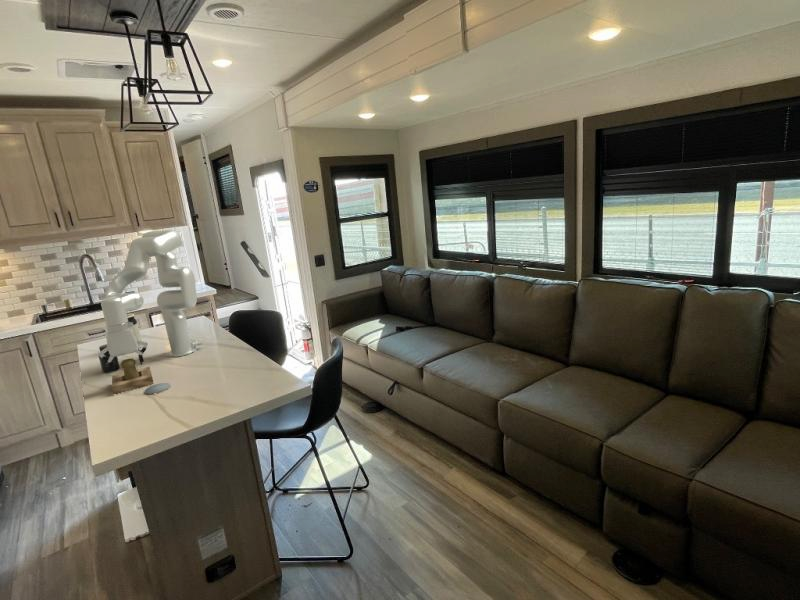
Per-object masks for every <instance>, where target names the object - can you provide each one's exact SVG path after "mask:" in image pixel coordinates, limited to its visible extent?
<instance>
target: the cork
mask: <svg viewBox="0 0 800 600" xmlns="http://www.w3.org/2000/svg"><path fill="white" fill-rule="evenodd" d="M136 364H137V363H136V360H135V359H134V358H132V357H131V358H130V357H129V358H126V359H123V360H122V361H121V362H120V368H122V369H123V373H124V377H125V381H126V380H130V379H134V378H138V377H140V376H139V374H138V372H137V370H138V369H137V367H136Z"/></svg>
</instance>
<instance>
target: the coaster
mask: <svg viewBox="0 0 800 600" xmlns="http://www.w3.org/2000/svg"><path fill="white" fill-rule="evenodd" d="M169 387H170V388H171V384H170V383H169V382H160V383H159V382H158V383H156V384H155V383H154V384H153V385H149V386H147V388H146V389H145V390H144V392H145V394H146V395H155V394H154V393H157V394H160V393H159V392H161V393H163V392H165V391H164V390H166V389H167V390H169V389H170V388H169ZM168 388H169V389H168ZM167 390H166V391H167ZM162 391H163V392H162Z"/></svg>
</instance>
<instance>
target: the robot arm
mask: <svg viewBox="0 0 800 600" xmlns="http://www.w3.org/2000/svg"><path fill="white" fill-rule="evenodd" d="M181 236H182V235H181V234H180V233H179V232H178V231H176V230H174V229H169V230H168V229H167V230H166V229H163V230H153V231H147V232H145V233H143V234H142V235H141V237H137V238H135V239H133V240H132V241H131V243H130V244H129V249H128V252H127V255H126V259H125V262H124V266H123V268H122V270H120V271H119V272H117V274H116V275H115V277H113V278H112V280H111V281H110V282H109V284H108V285H107V287H106V291H105V295H104V298H103V299H102V300H101V301H100V306H101V309H102V314H103V317H104V322H105V326H106V330H107V332H106V333H105V341H106V344H107V346H108V347H106V348H105V349H103V350H102V351H99V352H98V354H97V355H99V356H100V357H101V358H102V359H103V360H105V361H107V362H109V364H110V368H111V369H113V371H114V372H116V371H115V365H114V361H113V358H114V357H116V356H117V357H120V356H124V355H129V354H133V353H136V354H138V360H139V363H140V365H143V362H145V361H144V353H145V351H146V350H147V348H148V346H149V343H148V342H147V341H137V340H136V336H135V334H134V331H133V329H132V328H130V326H131V325H133V322H128V318H127V314H128V312H133V311H137V310H139V309H140V308H141V307H143V305H144V298H143V296H142V295H141V293H137V292H124V291H125V289H126V287H128V286H129V285H130V284H132V283H134V282H136V281H137V280H140V279H142V278H144V277H145V276H146V275H147V273H148V269H149V264H150V261H151V257H154V258H155V260H156V269H157V276H158V277H157V278H158V283H159V285H160V286H161V287H163V288H169V290H164V291H161V292H159V293H158V295H157V297H156V303H157V306H158V308H159V310H160V312H161V315H162V318H163V322H164V326H165V330H166V334H167V339H168V344H169V346H170V350H169V351H168V353H167V354H168V356H169V357H172V358H177V357H183V356H187V354H188V355H190V354H192V352H193V353H194V352H196V351H197V346H201V345H203V342H202V340H200V341H199V340H196V341H193V340H192V338H191V334H190V331H189V330H190V329H189V325H188V321H187V316H186V315H185V313H184V311H183V310H191V309H194V308H195V307H196V305H197V288H196V278H195V273H194V271H193V270H192V268H189V267H187V266H178V261H177V257H176V254H175V253H174V250H176V249H177V248H179V247H180V245H181V244H182V237H181ZM170 288H180V289H171V290H170ZM138 344H139V345H143V347H142V348H140V349H138ZM195 350H196V351H195ZM107 351H109V354H110V356H109V357H107V356H105V355H104V353H105V352H107ZM99 356H98V357H99Z"/></svg>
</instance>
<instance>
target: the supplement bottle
mask: <svg viewBox="0 0 800 600" xmlns="http://www.w3.org/2000/svg"><path fill="white" fill-rule="evenodd" d="M106 347H108V346H107V343H106V344H103V345H100V346H98V349H99V352H101V351H102V350H103V349H105V348H106ZM97 355H98V354H97ZM104 355H105V356H107V357H109V356H110V354H109V351H107V352H105V353H104ZM118 357H119V356H116V357H114V358H113V361H114V365H115V371H114V372H116V371H118V370H120V368H121V365H120V362H119V358H118ZM98 360H99V362H100V367H101V370H102V372H103V373H104V374H106V373H107V374H108V372H109V373H114V372H113V369H111V368H110V364H109V362H107V361H105V360H103V359H102V358H101V357H100V356H99V355H98Z"/></svg>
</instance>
